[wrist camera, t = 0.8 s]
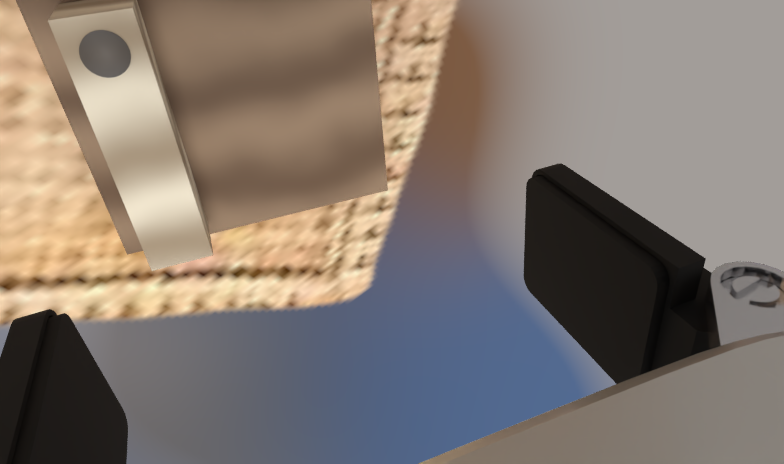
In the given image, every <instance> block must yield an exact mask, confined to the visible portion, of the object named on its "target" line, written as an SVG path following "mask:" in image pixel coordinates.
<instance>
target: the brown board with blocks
mask: <svg viewBox="0 0 784 464" xmlns="http://www.w3.org/2000/svg"><path fill="white" fill-rule="evenodd" d="M75 1H82V0H16V2H17V4H18V6H19V8H20V11H21V13H22V15H23V18H24V20H25V22H26V24H27V27H28V29H29V31H30V34H31V36H32V38H33V40H34V43H35V45H36V47H37V49H38V52H39V54H40V56H41V59H42V61H43V63H44V65H45V68H46V70H47V72H48V75H49V77H50V79H51V81H52V84H53V86H54V88H55V91H56V93H57V95H58V97H59V100H60V102H61V104H62V106H63V109H64V111H65V113H66V116H67V118H68V120H69V122H70V125H71V127H72V129H73V132H74V134H75V136H76V138H77V141H78V143H79V145H80V148H81V150H82V152H83V154H84V157H85V159H86V161H87V164H88V166H89V168H90V170H91V173H92V175H93V177H94V179H95V182H96V184H97V186H98V189H99V191H100V193H101V195H102V198H103V200H104V202H105V205H106V207H107V209H108V211H109V214H110V216H111V218H112V221H113V223H114V225H115V227H116V230H117V232H118V234H119V236H120V239H121V241H122V243H123V246H124V248H125V250H126V252H127V254H131V253H135V252H139V251H143V249H142V246H141V244H140V242H139V239H138V237H137V234H136V232H135V229H134V227H133V225H132V222H131V220H130V217H129V215H128V213H127V210H126V208H125V205H124V203H123V201H122V198H121V196H120V193H119V191H118V189H117V186H116V184H115V181H114V179H113V177H112V174H111V172H110V169H109V167H108V164H107V162H106V160H105V157H104V155H103V152H102V150H101V148H100V145H99V143H98V140H97V138H96V136H95V133H94V131H93V128H92V126H91V124H90V121H89V119H88V116H87V114H86V112H85V109H84V107H83V104H82V102H81V99H80V97H79V95H78V92H77V90H76V87H75V85H74V83H73V80H72V78H71V75H70V73H69V71H68V68H67V66H66V63H65V61H64V59H63V56H62V54H61V51H60V49H59V47H58V44H57V42H56V39H55V37H54V34H53V32H52V30H51V27H50V25H49V22H48V19H49V18H50V16H51V14H52V13H53V11H54V10H55V8H56V7H57V5H58V4H61V3H68V2H75ZM137 2H138V5H139V8H140V11H141V15H142V18H143V21H144V24H145V27H146V30H147V33H148V37H149V40H150V43H151V46H152V49H153V52H154V55H155V58H156V62H157V65H158V68H159V71H160V74H161V77H162V80H163V84H164V87H165V90H166V93H167V96H168V99H169V102H170V106H171V109H172V112H173V115H174V118H175V121H176V124H177V127H178V131H179V134H180V137H181V140H182V143H183V146H184V149H185V153H186V156H187V159H188V162H189V165H190V168H191V171H192V174H193V178H194V181H195V184H196V187H197V190H198V193H199V196H200V200H201V203H202V206H203V209H204V212H205V215H206V218H207V221H208V225H209V231H210V234H212V233H216V232H220V231H224V230H228V229H232V228H236V227H240V226H244V225H248V224H253V223H257V222H261V221H265V220H269V219H273V218H277V217H281V216H285V215H289V214H293V213H297V212H301V211H305V210H309V209H313V208H317V207H321V206H325V205H329V204H333V203H338V202H342V201H346V200H350V199H354V198H358V197H362V196H366V195H370V194H374V193H378V192H382V191H386V190H388V188H387V177H386V165H385V154H384V143H383V131H382V120H381V109H380V97H379V86H378V74H377V63H376V52H375V40H374V29H373V18H372V6H371V0H137Z"/></svg>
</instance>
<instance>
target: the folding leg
mask: <svg viewBox="0 0 784 464" xmlns="http://www.w3.org/2000/svg"><path fill="white" fill-rule="evenodd" d="M48 22H49V25H50V27H51V30H52V32H53V34H54V37H55V39H56V42H57V44H58V47H59V49H60V51H61V54H62V56H63V59H64V61H65V63H66V66H67V68H68V71H69V73H70V75H71V78H72V80H73V83H74V85H75V87H76V90H77V92H78V95H79V97H80V99H81V102H82V104H83V107H84V109H85V112H86V114H87V116H88V119H89V121H90V124H91V126H92V128H93V131H94V133H95V136H96V138H97V140H98V143H99V145H100V148H101V150H102V152H103V155H104V157H105V160H106V162H107V164H108V167H109V169H110V172H111V174H112V177H113V179H114V181H115V184H116V186H117V189H118V191H119V193H120V196H121V198H122V201H123V203H124V205H125V208H126V210H127V213H128V215H129V217H130V220H131V222H132V225H133V227H134V229H135V232H136V234H137V237H138V239H139V242H140V244H141V246H142V249H143V251H144V254H145V256H146V258H147V261H148V263H149V266H150V268H151V270H152V271H153V270H157V269H161V268H165V267H169V266H173V265H177V264H180V263H184V262H188V261H192V260H196V259H200V258H204V257H208V256H212V255H213V251H212V244H211V238H210V231H209V225H208V221H207V218H206V215H205V212H204V209H203V206H202V203H201V200H200V196H199V193H198V190H197V187H196V184H195V181H194V178H193V174H192V171H191V168H190V165H189V162H188V159H187V156H186V153H185V149H184V146H183V143H182V140H181V137H180V134H179V131H178V127H177V124H176V121H175V118H174V115H173V112H172V109H171V106H170V102H169V99H168V96H167V93H166V90H165V87H164V84H163V80H162V77H161V74H160V71H159V68H158V65H157V62H156V58H155V55H154V52H153V49H152V46H151V43H150V40H149V37H148V33H147V30H146V27H145V24H144V21H143V18H142V15H141V11H140V8H139V5H138V2H137V0H82V1H75V2H68V3H61V4H58V5H57V7H56V8H55V10H54V11H53V13H52V14H51V16H50V18H49V19H48Z"/></svg>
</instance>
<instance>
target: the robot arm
mask: <svg viewBox="0 0 784 464" xmlns="http://www.w3.org/2000/svg"><path fill="white" fill-rule="evenodd" d="M704 263H705V258H704V257H702V256H701V255H699V254H698V253H696V252H695V251H693V250H692V249H690V248H689V247H687V246H686V245H684V244H683V243H681V242H680V241H678V240H676V239H675V238H674V237H672V236H671V235H669V234H668V233H666V232H664V231H663V230H661V229H660V228H659V227H657V226H656V225H654V224H653V223H651V222H649V221H648V220H646V219H645V218H643V217H642V216H640V215H639V214H637V213H636V212H634V211H633V210H631V209H630V208H628V207H627V206H625V205H624V204H622V203H620V202H619V201H618V200H616V199H615V198H613V197H612V196H610V195H609V194H607V193H606V192H604V191H603V190H601V189H600V188H598V187H597V186H595V185H594V184H592V183H591V182H589V181H588V180H586V179H585V178H583V177H582V176H580V175H579V174H577V173H575V172H574V171H573V170H571V169H570V168H568V167H566V166H565V165H563V164H556V165H552V166H549V167H545V168H542V169H538V170H536V171H535V172H534V173H533V175H532V178H531V179H529V180H528V182H527V186H526V218H525V252H524V280H525V284H526V286H527V288H528V290H529V291H530V292H531V293H532V294H533V296H534V297H535V298H536V299H537V300H538V301H539V302H540V303H541V304H542V305H543V306H544V307H545V308H546V309H547V310H548V311H549V312H550V314H551V315H552V316H553V317H554V318H555V319H556V320H557V321H558V322H559V323H560V324H561V325H562V326H563V327H564V328H565V330H567V332H568V333H569V334H570V335H571V336H572V337H573V338H574V339H575V340H576V341H577V342H578V343H579V344H580V345H581V347H582V348H583V349H584V350H585V351H586V352H587V353H588V354H589V355H590V356H591V357H592V358H593V359H594V360H595V361H596V362H597V363H598V365H599V366H600V367H601V368H602V369H603V370H604V371H605V372H606V373H607V374H608V375H609V376H610V377H611V378H612V379H613V380H614V381H615V383H616V385H614V386H611V387H609V388H606V389H604V390H601V391H599V392H596V393H594V394H591V395H589V396H586V397H584V398H581V399H578V400H576V401H574V402H571V403H568V404H566V405H564V406H561V407H558V408H556V409H553V410H551V411H548V412H546V413H543V414H541V415H538V416H536V417H533V418H531V419H528V420H526V421H523V422H521V423H518V424H516V425H513V426H511V427H508V428H506V429H503V430H501V431H498V432H496V433H493V434H491V435H488V436H486V437H484V438H481V439H479V440H476V441H473V442H471V443H468V444H466V445H464V446H461V447H459V448H456V449H453V450H451V451H449V452H446V453H444V454H441V455H439V456H436V457H434V458H431V459H429V460H426V461H424V462H421V463H419V464H784V272H783V271H781V270H779V269H776V268H773V267H770V266H767V265H764V264H758V263H754V262H732V263H726V264H723V265H721V266H719V267H717V268H716V269H715V270H714V271H713V272H712V273H711V272H709V271H708V270H706V269H705V268H703V267H704ZM127 438H128V425H127V419H126V416H125V413H124V411H123V409H122V407H121V405H120V403H119V402H118V400H117V398H116V396H115V395H114V393H113V391H112V389H111V388H110V386H109V384H108V382H107V381H106V379H105V377H104V376H103V374H102V372H101V370H100V369H99V367H98V365H97V363H96V362H95V360H94V358H93V356H92V355H91V353H90V351H89V350H88V348H87V346H86V344H85V343H84V341H83V339H82V337H81V336H80V334H79V332H78V330H77V329H76V327H75V325H74V323H73V322H72V320H71V318H70V317H69V316H68V315H67V314H65V313H64V314H60V315H57V314H56V313H55V312H54V311H53V310H50V309H49V310H45V311H42V312H38V313H35V314H31V315H28V316H24V317H21V318H17V319H15V320H13V322H12V324H11V327H10V330H9V333H8V336H7V339H6V342H5V345H4V348H3V351H2V354H1V357H0V464H126V459H127V458H126V457H127Z"/></svg>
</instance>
